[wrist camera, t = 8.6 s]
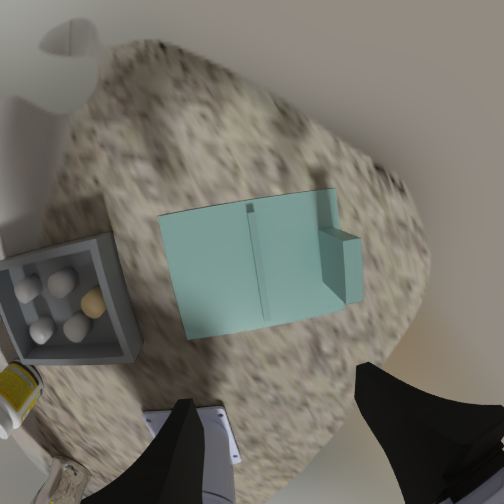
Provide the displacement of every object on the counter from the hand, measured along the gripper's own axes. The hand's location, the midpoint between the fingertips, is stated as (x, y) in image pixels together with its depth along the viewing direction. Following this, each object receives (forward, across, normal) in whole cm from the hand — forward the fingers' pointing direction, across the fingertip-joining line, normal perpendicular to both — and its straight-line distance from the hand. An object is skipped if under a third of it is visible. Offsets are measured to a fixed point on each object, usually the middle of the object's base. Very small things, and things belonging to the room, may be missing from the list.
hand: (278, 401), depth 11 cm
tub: (+10, +15, -3) cm, 19 cm away
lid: (+11, -1, -3) cm, 11 cm away
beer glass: (+10, +29, +22) cm, 38 cm away
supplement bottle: (+10, +25, +5) cm, 28 cm away
